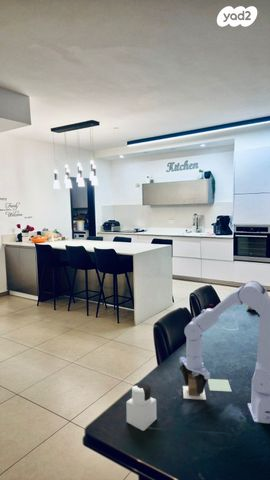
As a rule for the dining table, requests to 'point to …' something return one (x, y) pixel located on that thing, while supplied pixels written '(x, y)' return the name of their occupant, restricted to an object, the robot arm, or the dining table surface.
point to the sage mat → (219, 385)
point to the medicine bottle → (141, 407)
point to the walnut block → (192, 385)
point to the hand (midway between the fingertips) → (194, 388)
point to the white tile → (187, 396)
